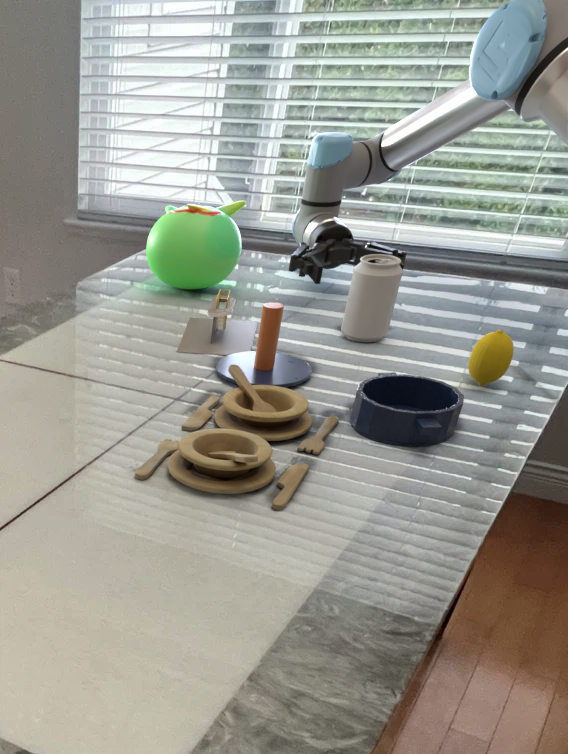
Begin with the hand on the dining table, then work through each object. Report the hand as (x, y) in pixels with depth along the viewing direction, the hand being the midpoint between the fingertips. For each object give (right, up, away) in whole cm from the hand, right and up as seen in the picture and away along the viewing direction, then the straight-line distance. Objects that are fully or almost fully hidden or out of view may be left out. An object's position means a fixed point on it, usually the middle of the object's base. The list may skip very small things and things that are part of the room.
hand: (359, 274), depth 143 cm
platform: (-24, -10, +1) cm, 26 cm away
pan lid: (-20, -22, -13) cm, 32 cm away
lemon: (+11, -26, -18) cm, 34 cm away
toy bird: (-25, +9, +23) cm, 35 cm away
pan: (-5, -35, -27) cm, 45 cm away
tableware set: (-28, -40, -31) cm, 58 cm away
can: (0, -11, -1) cm, 11 cm away
